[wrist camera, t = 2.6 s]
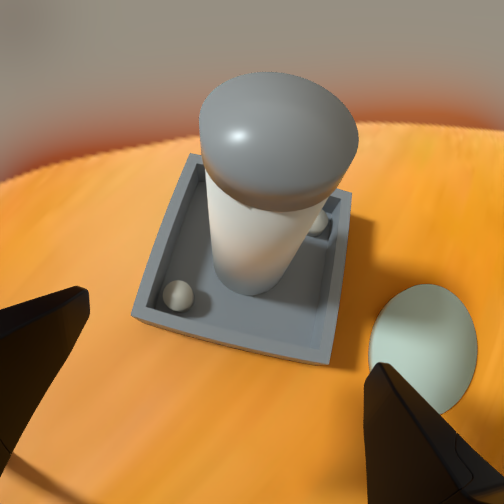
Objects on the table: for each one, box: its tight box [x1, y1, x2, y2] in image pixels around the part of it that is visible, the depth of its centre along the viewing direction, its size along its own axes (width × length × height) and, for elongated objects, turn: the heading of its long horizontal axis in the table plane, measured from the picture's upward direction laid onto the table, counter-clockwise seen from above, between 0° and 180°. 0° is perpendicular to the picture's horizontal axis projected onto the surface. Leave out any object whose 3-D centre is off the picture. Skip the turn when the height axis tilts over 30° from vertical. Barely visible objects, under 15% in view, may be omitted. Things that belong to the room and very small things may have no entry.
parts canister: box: [199, 72, 359, 295], centre depth 16 cm, size 5×5×14 cm
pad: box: [368, 284, 477, 414], centre depth 22 cm, size 11×11×1 cm
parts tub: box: [131, 153, 352, 365], centre depth 22 cm, size 13×13×3 cm
